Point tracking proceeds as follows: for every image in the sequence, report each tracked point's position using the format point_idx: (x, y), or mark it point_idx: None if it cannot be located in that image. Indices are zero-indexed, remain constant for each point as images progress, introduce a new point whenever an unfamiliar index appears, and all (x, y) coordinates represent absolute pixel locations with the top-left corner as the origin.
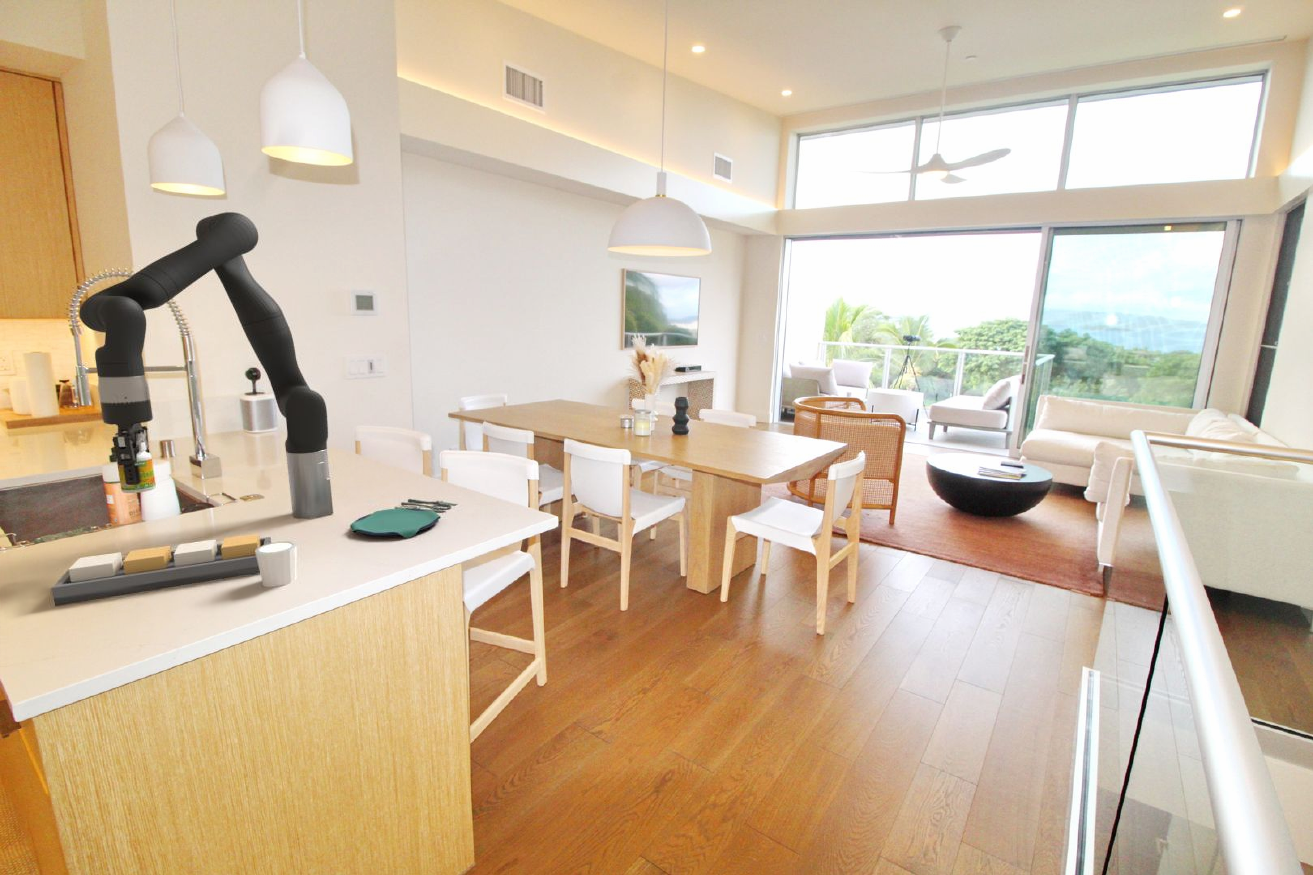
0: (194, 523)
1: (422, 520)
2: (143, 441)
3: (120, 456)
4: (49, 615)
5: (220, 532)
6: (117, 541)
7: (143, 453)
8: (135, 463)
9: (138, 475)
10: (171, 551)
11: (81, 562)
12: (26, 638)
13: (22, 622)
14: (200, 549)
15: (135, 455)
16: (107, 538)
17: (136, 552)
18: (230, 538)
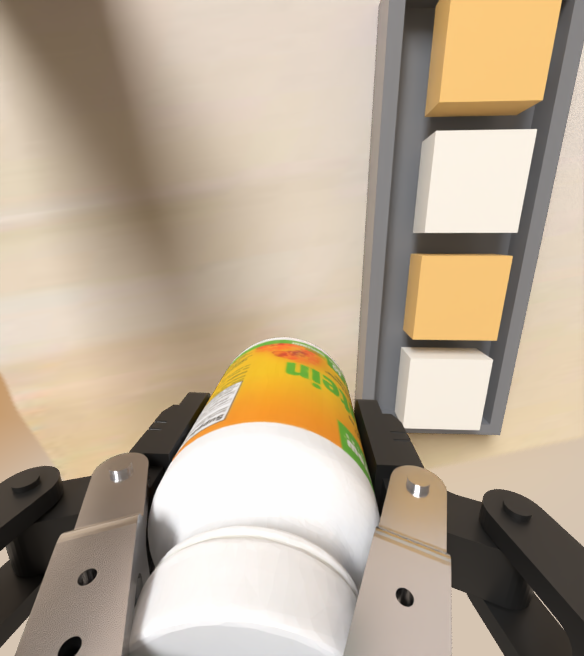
0: (19, 262)
1: None
2: (122, 645)
3: (552, 651)
4: (520, 410)
5: (123, 185)
6: (119, 395)
7: (298, 507)
8: (492, 493)
9: (383, 425)
10: (379, 258)
11: (443, 418)
12: None
13: (526, 437)
14: (518, 163)
15: (444, 552)
16: (90, 416)
17: (434, 325)
18: (452, 81)
